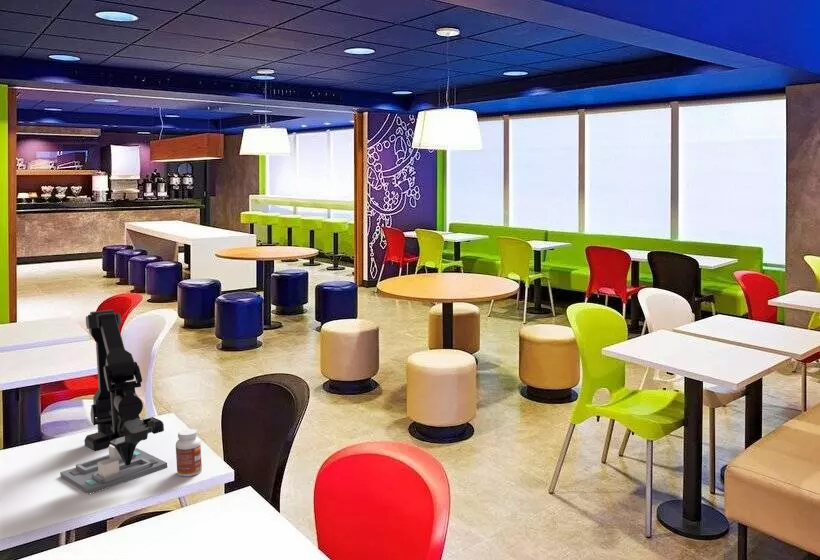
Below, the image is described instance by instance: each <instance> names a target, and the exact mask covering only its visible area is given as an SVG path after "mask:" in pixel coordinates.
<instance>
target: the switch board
mask: <svg viewBox="0 0 820 560" xmlns="http://www.w3.org/2000/svg"><path fill="white" fill-rule="evenodd" d="M106 459H109V454H105V455H103V456H99V457H96V458H92V459H90V460H87V461H84V462H80V463H77V464H75V467H72V468H69V469H66V470H64V471H63V470H62V471H60V473H59V477H60V478H62V479H64V480H65V481H67V483H70V484H71V485H73V486H75V487H76V488H78V489H79V490H81V491H83V492H84V493H86V494H87V493H88V494H87V495H91V494H94V493H96V491H97V492H100V491H103V490H105V488H106V489H108V487H109V488H112V487H114V486H118V485H120V484H123V483H126V482H128V481H131V480H134V479H137V478H140V477H144V476H146V475H149V474H152V473H154V472H157V471H159V470H160V471H161V470H163V469H165V468H168V462H166V461H164V460H162V459H160V458H158V457H156V456H154V455H152V454H150V453H148V452H146V451H145V450H143V449H140V448H138V447H136V448H135V450H134V453H133V456H132V460H131V463H130V465H125V463H124V462H123V460H122V458H118V459H117V460H119V472H120V473H117V474H114V475H111V476H108V477H105V478H102V477H101V476H99V474H98V462H100V461H103V460H106ZM102 489H103V490H102ZM99 490H100V491H99ZM93 492H94V493H93ZM90 493H91V494H90Z"/></svg>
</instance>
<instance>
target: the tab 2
mask: <svg viewBox="0 0 820 560" xmlns="http://www.w3.org/2000/svg"><path fill="white" fill-rule="evenodd" d="M108 455H109V458H112V457H113V458H115V459H118V458H121V456H120V454H119V453H118V451H117V449H116V448H115V447H114V446H113V445H111V444H110V445H109V447H108Z"/></svg>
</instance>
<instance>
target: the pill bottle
mask: <svg viewBox="0 0 820 560" xmlns="http://www.w3.org/2000/svg"><path fill="white" fill-rule="evenodd" d="M197 436H198V431H197V429H195V428H186V429H181V430H179V431H178V432H177V437H178V440H176V443H175V455H176V456H175V457H176V458H175V459H176V460H175V461H176V471H177V474H178V476H180V477H192V476H191V475H193V476H196V475H198V474H200V473H201V472H202V470H203V469H202V466H203V465H202V448H201V446H202V445H201V440H200V438H198V437H197ZM199 472H200V473H199ZM195 474H196V475H195Z"/></svg>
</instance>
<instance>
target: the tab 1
mask: <svg viewBox="0 0 820 560" xmlns="http://www.w3.org/2000/svg"><path fill="white" fill-rule="evenodd" d="M117 473H120V472H119V460H117V459H115V458H113V457H112V458H109V459H106V460H103V461H100V462H98V474H99V476H101V477H102V478H105V477H108V476H111V475H114V474H117Z"/></svg>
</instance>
